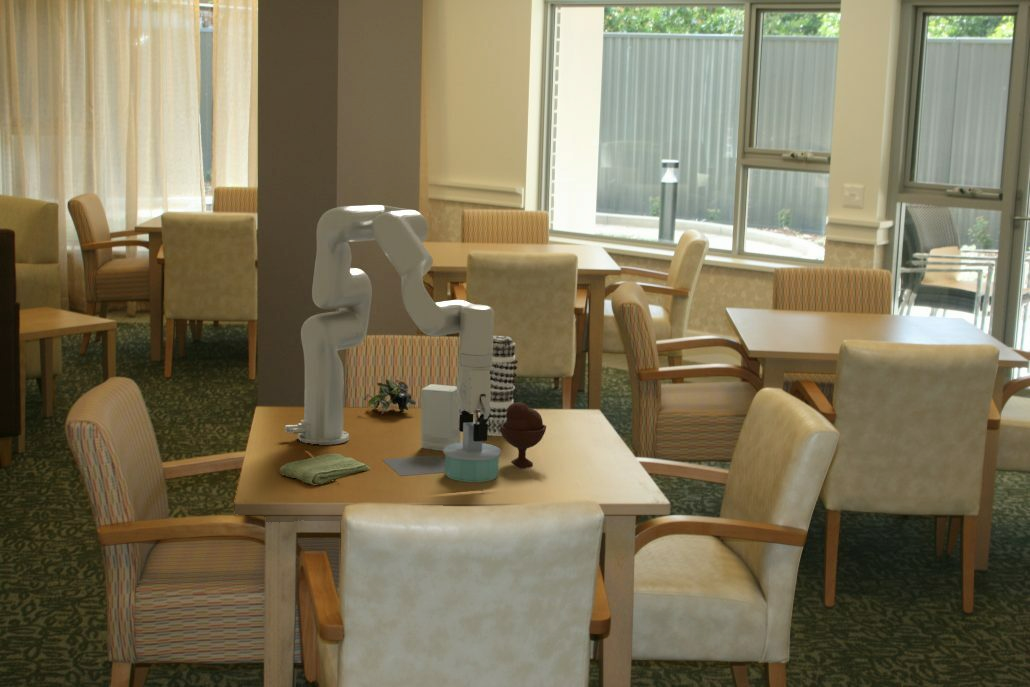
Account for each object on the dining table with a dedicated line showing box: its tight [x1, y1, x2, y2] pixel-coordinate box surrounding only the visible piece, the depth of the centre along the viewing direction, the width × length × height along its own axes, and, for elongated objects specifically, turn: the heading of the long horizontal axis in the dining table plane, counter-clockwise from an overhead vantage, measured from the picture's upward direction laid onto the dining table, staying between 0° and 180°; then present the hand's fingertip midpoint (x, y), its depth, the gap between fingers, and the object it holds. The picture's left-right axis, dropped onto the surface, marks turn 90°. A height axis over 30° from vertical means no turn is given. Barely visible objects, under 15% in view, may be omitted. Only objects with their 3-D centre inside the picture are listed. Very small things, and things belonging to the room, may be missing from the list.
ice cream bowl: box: [500, 401, 547, 469], centre depth 297 cm, size 11×11×15 cm
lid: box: [442, 421, 502, 461], centre depth 286 cm, size 13×13×7 cm
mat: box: [381, 454, 446, 477], centre depth 293 cm, size 14×14×1 cm
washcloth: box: [279, 453, 371, 485], centre depth 285 cm, size 13×18×3 cm
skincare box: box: [420, 383, 461, 452], centre depth 308 cm, size 8×7×16 cm
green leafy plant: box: [363, 378, 417, 416], centre depth 343 cm, size 11×11×12 cm
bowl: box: [444, 455, 500, 483], centre depth 287 cm, size 12×12×6 cm
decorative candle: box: [487, 335, 518, 437], centre depth 326 cm, size 9×9×25 cm
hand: (473, 435), depth 286 cm, fingers open, 8 cm apart
